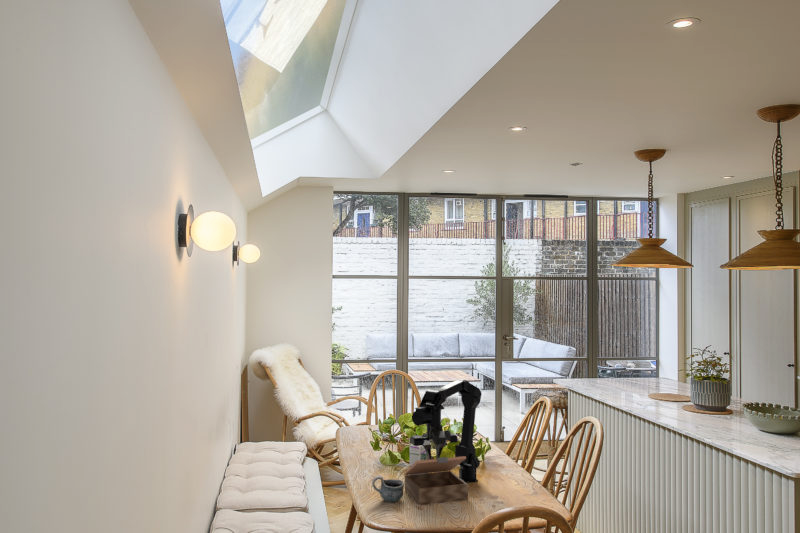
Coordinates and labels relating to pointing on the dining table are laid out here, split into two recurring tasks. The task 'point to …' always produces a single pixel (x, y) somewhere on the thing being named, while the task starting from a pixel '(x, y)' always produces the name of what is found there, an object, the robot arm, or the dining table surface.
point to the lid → (434, 465)
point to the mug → (389, 489)
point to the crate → (436, 487)
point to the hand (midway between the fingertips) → (433, 460)
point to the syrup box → (417, 454)
